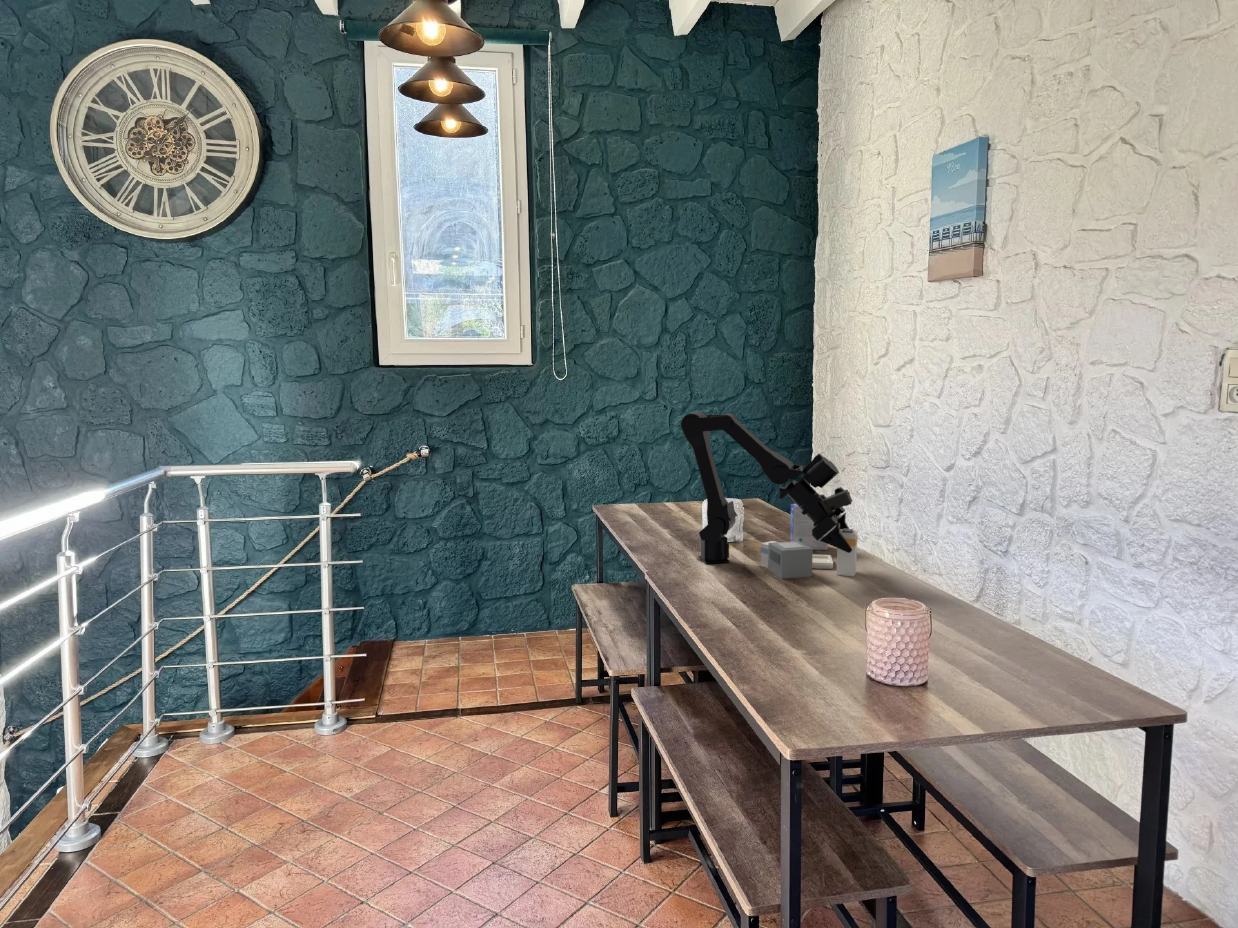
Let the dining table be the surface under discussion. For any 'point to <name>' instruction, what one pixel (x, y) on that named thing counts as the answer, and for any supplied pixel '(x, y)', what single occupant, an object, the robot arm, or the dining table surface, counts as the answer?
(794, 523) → the ink cartridge box
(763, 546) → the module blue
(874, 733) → the dining table surface
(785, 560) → the block
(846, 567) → the block
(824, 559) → the tray
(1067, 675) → the dining table surface
